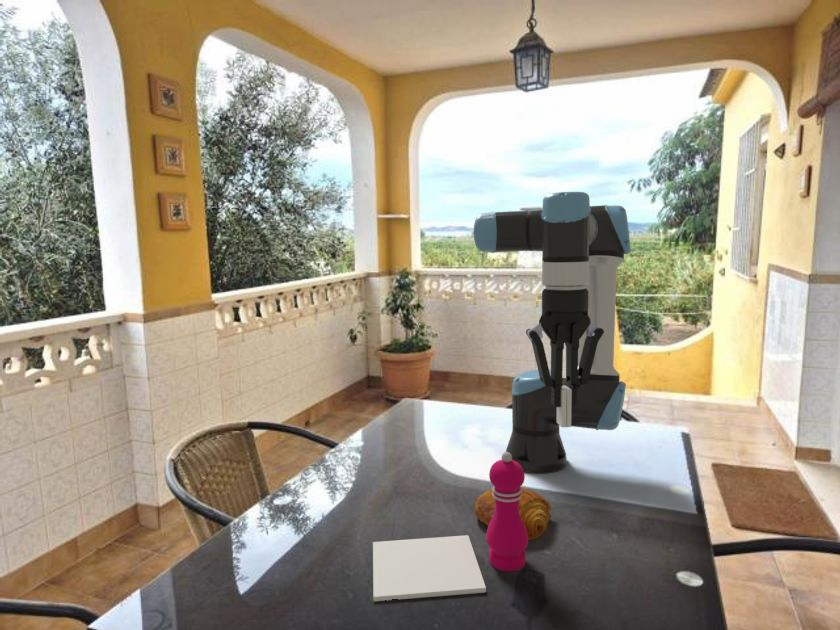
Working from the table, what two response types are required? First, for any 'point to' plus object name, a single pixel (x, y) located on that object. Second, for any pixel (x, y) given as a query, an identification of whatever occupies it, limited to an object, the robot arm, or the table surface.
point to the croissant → (530, 510)
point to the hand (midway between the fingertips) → (563, 424)
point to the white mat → (425, 568)
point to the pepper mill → (507, 516)
